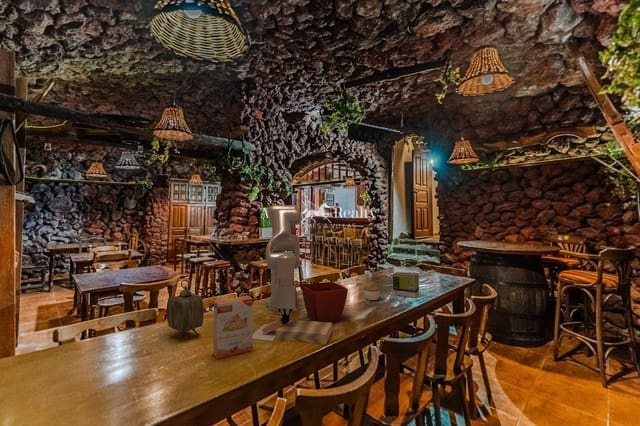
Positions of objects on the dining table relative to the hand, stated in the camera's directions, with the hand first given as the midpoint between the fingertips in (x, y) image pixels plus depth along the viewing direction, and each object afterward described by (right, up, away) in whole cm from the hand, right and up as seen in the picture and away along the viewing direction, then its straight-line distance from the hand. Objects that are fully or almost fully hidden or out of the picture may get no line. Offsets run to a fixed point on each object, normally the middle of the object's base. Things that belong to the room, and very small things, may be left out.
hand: (285, 322), depth 135 cm
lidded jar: (+49, -6, +55) cm, 74 cm away
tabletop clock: (-45, -5, -3) cm, 45 cm away
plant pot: (+17, -5, +20) cm, 27 cm away
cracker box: (-18, -5, -19) cm, 27 cm away
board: (+9, -5, -2) cm, 10 cm away
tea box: (+73, -6, +66) cm, 99 cm away
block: (-5, -3, 0) cm, 5 cm away
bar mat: (-8, -5, +2) cm, 10 cm away
